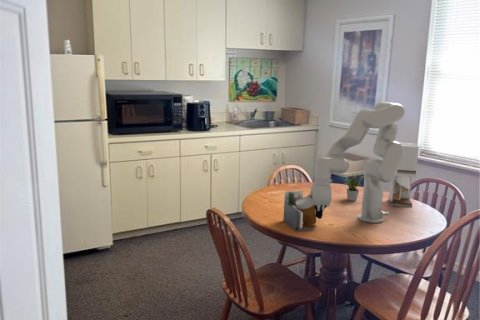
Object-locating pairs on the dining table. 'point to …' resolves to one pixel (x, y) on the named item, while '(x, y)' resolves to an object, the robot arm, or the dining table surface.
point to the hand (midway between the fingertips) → (318, 217)
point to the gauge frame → (292, 210)
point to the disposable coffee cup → (307, 210)
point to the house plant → (352, 188)
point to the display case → (404, 176)
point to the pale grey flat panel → (299, 214)
